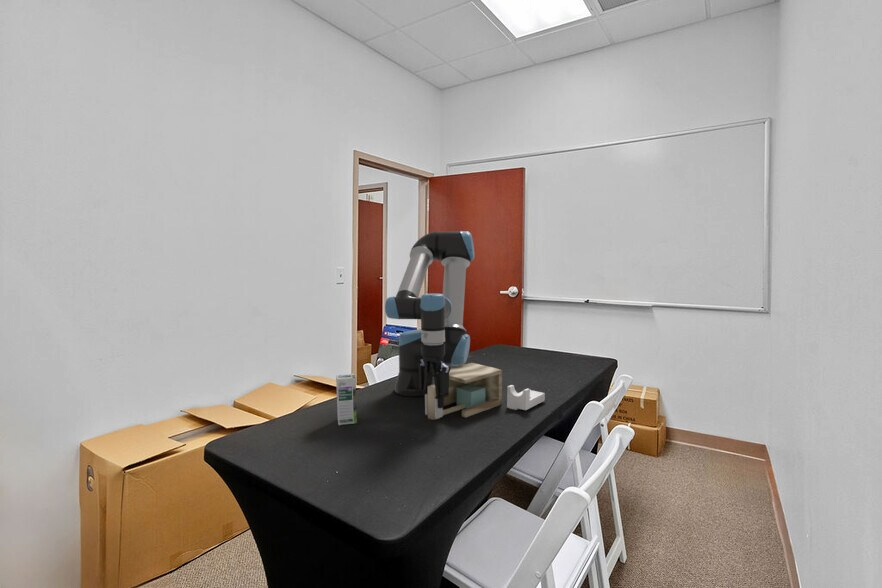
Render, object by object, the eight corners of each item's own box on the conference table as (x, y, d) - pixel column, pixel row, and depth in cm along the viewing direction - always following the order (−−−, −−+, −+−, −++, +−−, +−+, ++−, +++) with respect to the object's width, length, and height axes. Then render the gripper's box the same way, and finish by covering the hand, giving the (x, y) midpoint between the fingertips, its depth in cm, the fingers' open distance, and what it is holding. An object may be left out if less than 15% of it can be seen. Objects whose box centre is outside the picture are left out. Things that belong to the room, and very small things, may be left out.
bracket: (525, 413, 141) (525, 390, 141) (507, 408, 146) (507, 386, 145) (544, 403, 151) (544, 381, 150) (526, 398, 156) (526, 378, 155)
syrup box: (338, 425, 131) (336, 379, 130) (337, 418, 137) (336, 374, 136) (357, 423, 133) (356, 377, 131) (355, 417, 138) (354, 372, 137)
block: (422, 415, 139) (421, 385, 138) (470, 400, 154) (470, 372, 153) (436, 421, 134) (436, 390, 133) (485, 404, 149) (485, 376, 148)
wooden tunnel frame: (435, 406, 147) (435, 371, 146) (472, 395, 159) (472, 362, 158) (465, 417, 137) (465, 379, 136) (501, 404, 149) (502, 369, 148)
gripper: (407, 340, 139) (408, 411, 141) (442, 348, 127) (443, 426, 129) (424, 337, 144) (425, 406, 146) (460, 345, 132) (461, 419, 134)
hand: (433, 415), depth 137 cm, fingers closed on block, 4 cm apart
